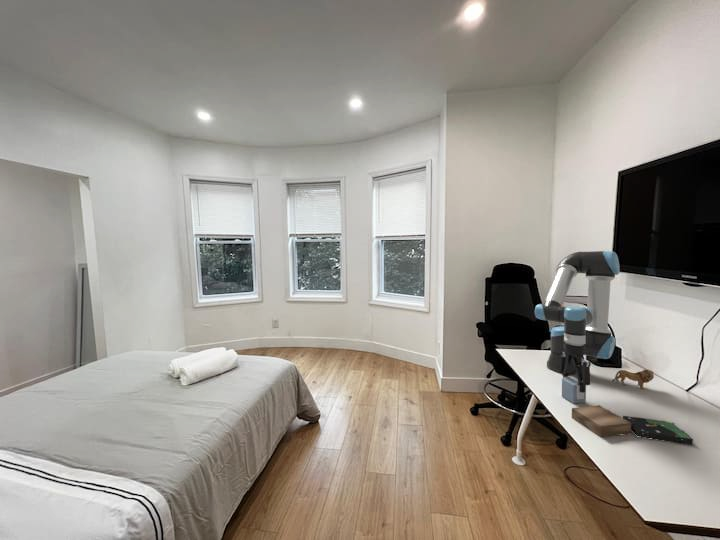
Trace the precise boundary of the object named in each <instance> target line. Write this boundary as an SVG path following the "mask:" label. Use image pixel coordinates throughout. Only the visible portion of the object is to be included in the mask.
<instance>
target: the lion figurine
mask: <svg viewBox="0 0 720 540" xmlns="http://www.w3.org/2000/svg"><path fill="white" fill-rule="evenodd" d="M654 376H655V374H654V371H652V370H650V369H643V370H641V371H637V372H631V371H628V370H626V369H622V370H621V369H619V370H618V371H617V372H616V374H615V377H614V378H613V379H612V380H611V382H615V381H616V382H617V381H618V382H617V383H620V382H621V384H622V386H625V385H626V386H627V383H625V380H626V378H627V379H628V380H630V381H633V382H637V386H638V387H639V386H640V387H639V388H640V389H641V390H645V388H644V387H643V386H644V383H645V384H646V383H647V384H648V383H649V382H651V381H653V379H654ZM619 379H621V380H619Z"/></svg>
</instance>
